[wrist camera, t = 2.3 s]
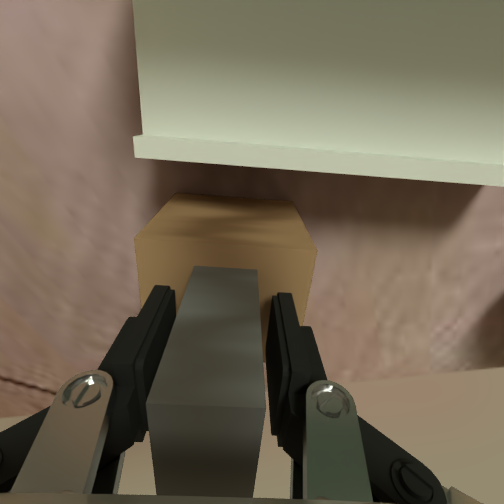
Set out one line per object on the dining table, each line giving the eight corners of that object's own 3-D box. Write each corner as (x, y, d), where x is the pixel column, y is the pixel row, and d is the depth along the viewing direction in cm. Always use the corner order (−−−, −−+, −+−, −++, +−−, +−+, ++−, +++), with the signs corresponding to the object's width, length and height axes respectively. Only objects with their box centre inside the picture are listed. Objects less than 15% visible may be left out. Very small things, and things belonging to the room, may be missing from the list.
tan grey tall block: (292, 201, 17) (383, 378, 6) (280, 285, 20) (326, 526, 8) (175, 192, 17) (20, 362, 5) (179, 279, 20) (77, 521, 8)
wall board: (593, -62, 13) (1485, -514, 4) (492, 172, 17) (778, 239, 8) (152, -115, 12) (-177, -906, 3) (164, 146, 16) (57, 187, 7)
